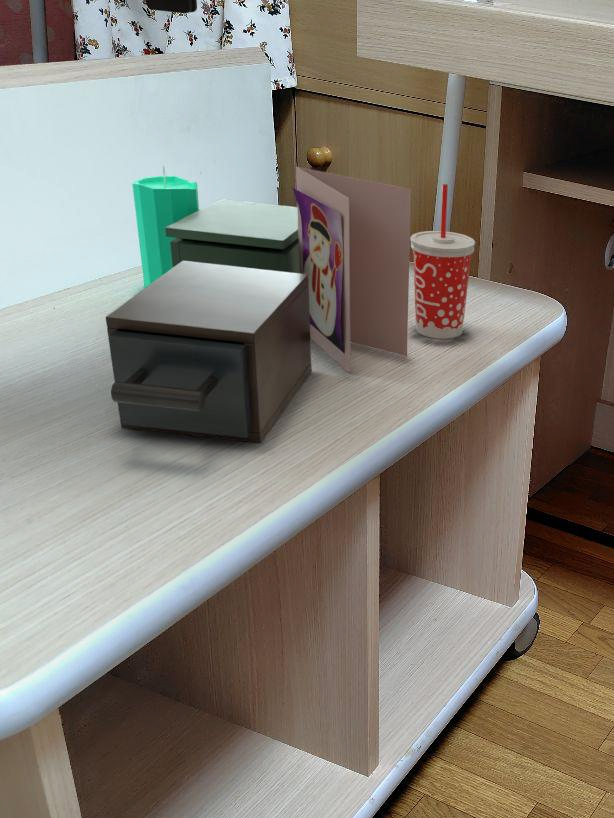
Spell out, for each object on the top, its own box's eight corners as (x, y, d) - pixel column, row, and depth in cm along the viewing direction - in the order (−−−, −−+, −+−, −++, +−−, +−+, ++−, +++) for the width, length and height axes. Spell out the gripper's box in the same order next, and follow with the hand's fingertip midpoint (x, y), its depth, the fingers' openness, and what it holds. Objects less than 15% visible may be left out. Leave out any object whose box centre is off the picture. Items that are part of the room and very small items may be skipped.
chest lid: (283, 249, 88) (283, 240, 87) (165, 236, 88) (164, 227, 87) (324, 218, 100) (324, 210, 100) (220, 206, 100) (220, 198, 100)
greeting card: (293, 331, 94) (286, 166, 86) (364, 322, 98) (364, 164, 90) (341, 374, 86) (338, 198, 79) (417, 364, 90) (422, 194, 82)
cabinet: (260, 443, 74) (253, 333, 70) (120, 427, 74) (105, 317, 70) (311, 371, 86) (308, 274, 82) (191, 357, 87) (182, 260, 82)
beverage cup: (399, 322, 99) (401, 177, 92) (455, 317, 102) (461, 176, 94) (422, 344, 94) (427, 193, 87) (480, 338, 97) (489, 191, 90)
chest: (289, 337, 93) (286, 254, 89) (178, 325, 93) (169, 241, 89) (325, 293, 104) (324, 218, 100) (226, 282, 104) (221, 207, 100)
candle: (171, 300, 98) (158, 175, 92) (131, 286, 101) (116, 163, 94) (218, 288, 103) (209, 168, 96) (179, 274, 105) (167, 156, 99)
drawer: (227, 464, 69) (220, 373, 65) (94, 449, 69) (80, 357, 65) (297, 370, 84) (294, 292, 80) (188, 358, 84) (180, 279, 81)
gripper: (133, -293, 70) (161, 0, 79) (26, -346, 57) (75, 11, 67) (238, -282, 70) (254, 10, 79) (155, -332, 57) (185, 23, 67)
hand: (172, 10), depth 73 cm, fingers closed
